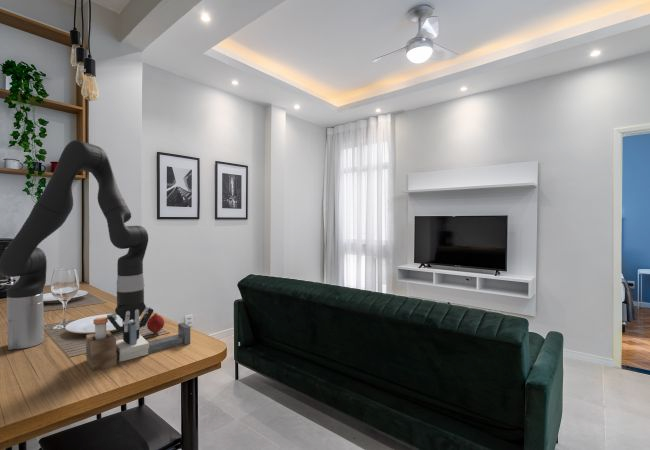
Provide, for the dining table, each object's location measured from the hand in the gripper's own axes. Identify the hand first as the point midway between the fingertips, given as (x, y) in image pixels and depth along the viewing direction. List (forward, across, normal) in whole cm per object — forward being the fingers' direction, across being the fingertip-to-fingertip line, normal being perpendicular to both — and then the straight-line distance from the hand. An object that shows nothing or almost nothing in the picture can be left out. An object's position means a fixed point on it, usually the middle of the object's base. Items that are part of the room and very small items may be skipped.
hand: (131, 341), depth 107 cm
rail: (+5, -5, 0) cm, 7 cm away
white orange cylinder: (-1, +8, 0) cm, 8 cm away
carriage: (+5, 0, 0) cm, 5 cm away
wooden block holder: (+5, +8, 0) cm, 9 cm away
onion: (+5, -12, -15) cm, 20 cm away
